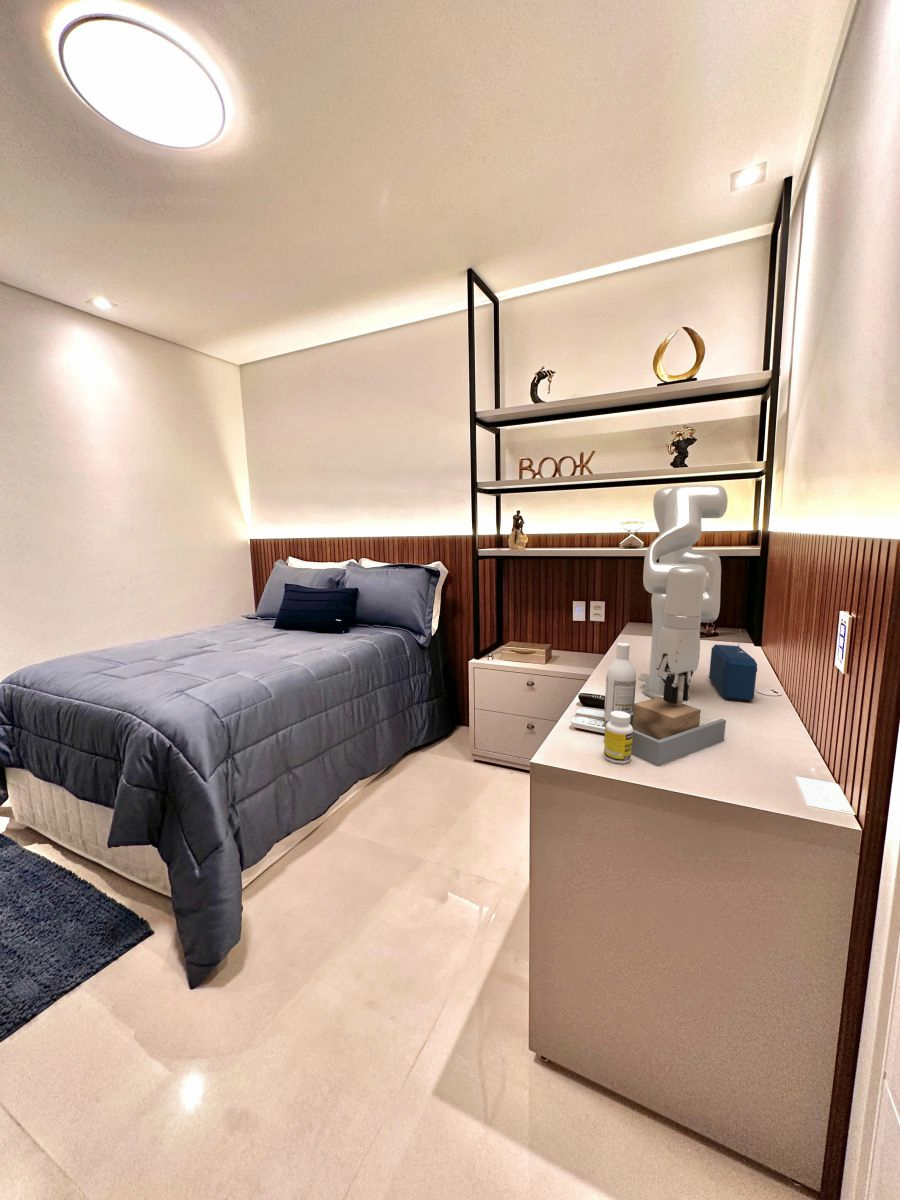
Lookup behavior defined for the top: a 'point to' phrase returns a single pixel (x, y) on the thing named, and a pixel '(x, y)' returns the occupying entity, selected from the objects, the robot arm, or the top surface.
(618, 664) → the bath foam
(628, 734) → the supplement bottle
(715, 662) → the radio
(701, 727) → the bay
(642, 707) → the block
